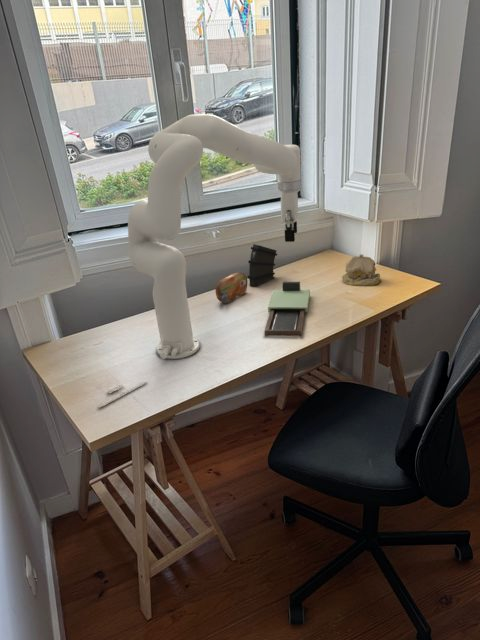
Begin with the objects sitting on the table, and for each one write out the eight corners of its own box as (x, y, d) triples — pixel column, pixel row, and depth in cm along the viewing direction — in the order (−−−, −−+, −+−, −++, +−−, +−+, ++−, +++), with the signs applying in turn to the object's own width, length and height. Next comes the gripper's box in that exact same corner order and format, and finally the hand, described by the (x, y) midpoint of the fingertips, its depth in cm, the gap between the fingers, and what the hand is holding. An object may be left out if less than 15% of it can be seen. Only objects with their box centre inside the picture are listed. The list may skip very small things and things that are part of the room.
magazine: (242, 283, 188) (251, 243, 185) (264, 287, 198) (273, 250, 195) (249, 285, 186) (259, 245, 183) (271, 289, 196) (281, 251, 193)
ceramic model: (339, 284, 186) (339, 258, 181) (345, 273, 195) (346, 248, 190) (377, 287, 181) (378, 260, 176) (382, 276, 190) (383, 250, 185)
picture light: (99, 408, 124) (98, 401, 123) (90, 402, 127) (88, 395, 126) (145, 384, 133) (144, 377, 132) (136, 378, 135) (134, 372, 134)
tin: (222, 306, 174) (219, 283, 170) (215, 304, 176) (212, 282, 172) (249, 291, 185) (247, 270, 180) (242, 290, 186) (240, 268, 182)
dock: (301, 338, 150) (300, 330, 149) (264, 337, 152) (264, 330, 151) (307, 298, 176) (307, 291, 175) (276, 298, 178) (276, 291, 177)
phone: (295, 333, 151) (294, 331, 151) (271, 333, 152) (271, 331, 152) (298, 314, 163) (298, 311, 163) (276, 314, 164) (276, 311, 164)
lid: (307, 312, 162) (306, 298, 160) (268, 312, 164) (267, 298, 162) (309, 294, 175) (309, 281, 173) (273, 294, 177) (273, 281, 175)
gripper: (280, 180, 171) (283, 230, 179) (274, 192, 156) (277, 245, 164) (302, 180, 170) (303, 229, 178) (298, 191, 155) (300, 244, 163)
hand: (291, 237), depth 171 cm, fingers open, 9 cm apart
